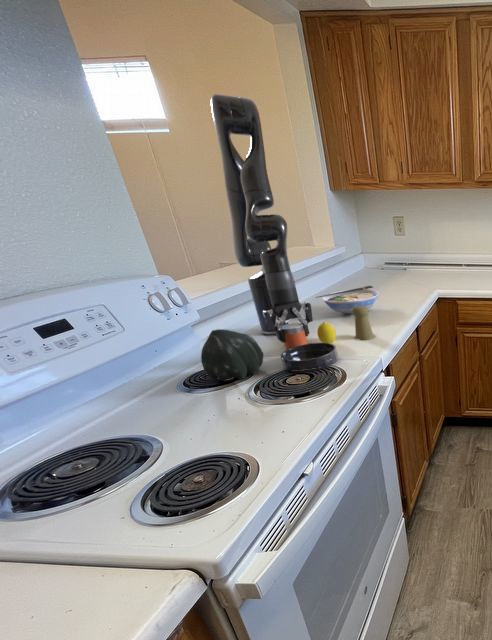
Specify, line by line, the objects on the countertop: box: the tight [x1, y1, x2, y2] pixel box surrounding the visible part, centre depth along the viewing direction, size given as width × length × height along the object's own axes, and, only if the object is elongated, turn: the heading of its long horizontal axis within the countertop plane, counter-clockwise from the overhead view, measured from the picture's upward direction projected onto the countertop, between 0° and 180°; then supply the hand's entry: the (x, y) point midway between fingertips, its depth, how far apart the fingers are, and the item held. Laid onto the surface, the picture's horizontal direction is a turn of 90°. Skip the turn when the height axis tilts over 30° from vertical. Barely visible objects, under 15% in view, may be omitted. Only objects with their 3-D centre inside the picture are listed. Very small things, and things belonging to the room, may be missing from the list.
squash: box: [200, 328, 264, 382], centre depth 115 cm, size 14×15×15 cm
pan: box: [280, 342, 339, 373], centre depth 123 cm, size 15×15×4 cm
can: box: [282, 322, 308, 351], centre depth 131 cm, size 6×6×9 cm
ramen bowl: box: [315, 285, 380, 315], centre depth 175 cm, size 25×23×8 cm
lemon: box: [316, 321, 337, 344], centre depth 137 cm, size 6×6×8 cm
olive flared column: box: [352, 306, 375, 341], centre depth 143 cm, size 6×6×11 cm
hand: (294, 338), depth 131 cm, fingers closed on can, 6 cm apart
